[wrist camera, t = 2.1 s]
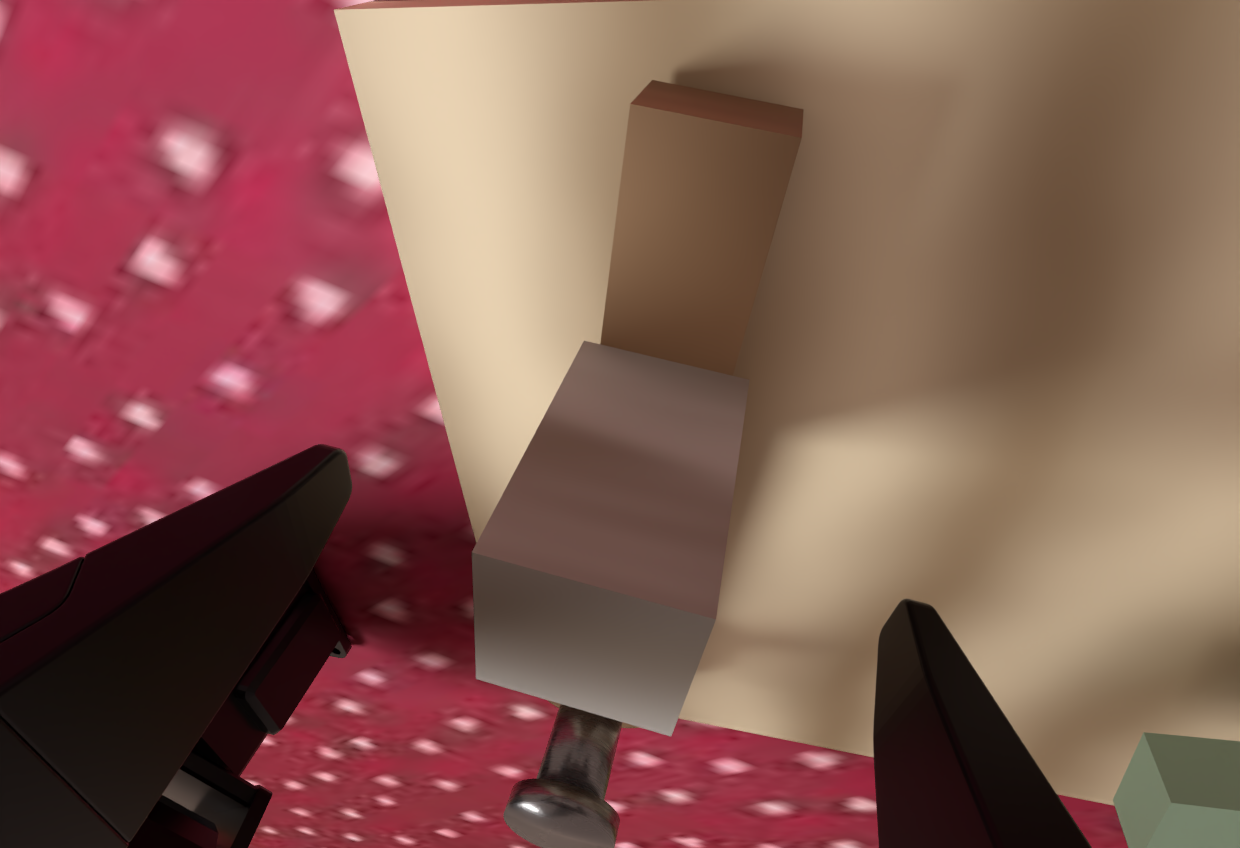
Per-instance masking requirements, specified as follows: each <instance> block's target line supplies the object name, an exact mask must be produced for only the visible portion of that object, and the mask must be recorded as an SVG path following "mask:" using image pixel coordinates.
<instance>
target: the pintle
mask: <svg viewBox="0 0 1240 848" xmlns="http://www.w3.org/2000/svg"><path fill="white" fill-rule="evenodd" d="M621 727H622V722H620V721H617V720H613V719H610V718H607V717H603V716H600V715H597V714H593V713H590V712H586V711H583V710H580V709H576V708H573V707H569V706H566V705H563V704H560V707H559V710H558V713H557V716H556V719H555V723H554V726H553V729H552V732H551V735H550V738H549V741H548V744H547V748H546V751H545V754H544V757H543V760H542V763H541V766H540V769H539V773H538V776H537V779H527V780H522V781H520V782H518V783H516V784H515V785H514V786H513V789H512V791H511V794H510V797H509V800H508V803H507V806H506V809H505V812H504V820H505V822H506V824H507V825H508V826H509V827H510V828H511V829H512V830H513V831H514V832H515V833H516V834H518V835H519V836H521V837H522V838H524V839H525V840H527V841H529V842H531V843H533V844H535V845H537V846H539V847H542V848H614V847H615V842H616V837H617V833H618V828H619V823H620V819H619V816H618V814H617V812H616V811H615V810H614V809H613V808H612V807H611V806H610V805H609V804H608V803H607V802H605V801H604V798H605V794H606V790H607V786H608V781H609V777H610V773H611V769H612V765H613V760H614V756H615V752H616V748H617V743H618V739H619V735H620V731H621Z"/></svg>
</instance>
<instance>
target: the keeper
mask: <svg viewBox="0 0 1240 848" xmlns="http://www.w3.org/2000/svg"><path fill="white" fill-rule="evenodd" d="M1113 802H1114V805H1115V808H1116V811H1117V814H1118V817H1119V820H1120V823H1121V826H1122V829H1123V832H1124V836H1125V839H1126V842H1127V845H1128V848H1240V741H1231V740H1221V739H1210V738H1200V737H1189V736H1178V735H1168V734H1157V733H1147V732H1143V735H1142V737H1141V739H1140V741H1139V743H1138V745H1137V748H1136V750H1135V752H1134V754H1133V756H1132V759H1131V761H1130V763H1129V765H1128V767H1127V770H1126V772H1125V774H1124V776H1123V778H1122V781H1121V783H1120V785H1119V787H1118V789H1117V792H1116V794H1115V796H1114V798H1113Z"/></svg>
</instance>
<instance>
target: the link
mask: <svg viewBox="0 0 1240 848" xmlns="http://www.w3.org/2000/svg"><path fill="white" fill-rule="evenodd" d="M803 111H804V109H799V108H794V107H789V106H784V105H779V104H774V103H769V102H763V101H758V100H753V99H748V98H743V97H738V96H733V95H727V94H722V93H717V92H712V91H707V90H702V89H697V88H692V87H686V86H681V85H676V84H671V83H666V82H661V81H656V80H652V81H651V82H650V83H649V84H648V85H647V86H646V87H645V88H644V89H643V90H642V91H641V93H640V94H639V95H638V96H637V97H636V98H635V99H634V100H633V101H632V102H631V103H630V110H629V118H628V126H627V134H626V142H625V150H624V158H623V166H622V174H621V182H620V190H619V198H618V206H617V214H616V222H615V230H614V238H613V246H612V254H611V262H610V270H609V278H608V286H607V294H606V302H605V310H604V318H603V326H602V334H601V342H600V344H597V343H592V342H588V341H583V343H582V345H581V347H580V349H579V351H578V353H577V355H576V357H575V358H574V360H573V362H572V364H571V366H570V368H569V370H568V372H567V374H566V375H565V377H564V379H563V381H562V383H561V385H560V387H559V389H558V391H557V392H556V394H555V396H554V398H553V400H552V402H551V404H550V406H549V408H548V409H547V411H546V413H545V415H544V417H543V419H542V421H541V423H540V425H539V426H538V428H537V430H536V432H535V434H534V436H533V438H532V440H531V441H530V443H529V445H528V447H527V449H526V451H525V453H524V455H523V457H522V458H521V460H520V462H519V464H518V466H517V468H516V470H515V472H514V474H513V475H512V477H511V479H510V481H509V483H508V485H507V487H506V489H505V491H504V492H503V494H502V496H501V498H500V500H499V502H498V504H497V506H496V508H495V509H494V511H493V513H492V515H491V517H490V519H489V521H488V523H487V525H486V526H485V528H484V530H483V532H482V534H481V536H480V538H479V540H478V542H477V543H476V545H475V547H474V549H473V551H472V573H473V603H474V633H475V662H476V679H478V680H481V681H485V682H488V683H492V684H495V685H498V686H502V687H505V688H508V689H512V690H515V691H519V692H522V693H525V694H529V695H532V696H536V697H539V698H542V699H546V700H548V701H549V702H550V703H552V704H553V705H555V706H556V707H558V708H559V707H560V704H563V705H566V706H569V707H573V708H576V709H580V710H583V711H586V712H590V713H593V714H597V715H600V716H603V717H607V718H610V719H613V720H617V721H620V722H622V727H621V728H638V727H641V728H644V729H647V730H651V731H654V732H658V733H661V734H664V735H668V736H671V735H672V733H673V730H674V728H675V725H676V722H677V720H678V717H679V715H680V712H681V709H682V707H683V704H684V702H685V699H686V696H687V694H688V691H689V688H690V686H691V683H692V681H693V678H694V675H695V673H696V670H697V668H698V665H699V662H700V660H701V657H702V655H703V652H704V649H705V647H706V644H707V642H708V639H709V636H710V634H711V631H712V629H713V626H714V623H715V621H716V616H717V609H718V601H719V594H720V587H721V580H722V573H723V566H724V559H725V552H726V545H727V537H728V530H729V523H730V516H731V509H732V502H733V495H734V488H735V480H736V473H737V466H738V459H739V452H740V445H741V438H742V431H743V424H744V416H745V409H746V402H747V395H748V388H749V381H750V380H748V379H744V378H740V377H736V376H733V373H734V370H735V366H736V363H737V359H738V356H739V352H740V349H741V345H742V342H743V339H744V335H745V332H746V328H747V325H748V321H749V318H750V314H751V311H752V308H753V304H754V301H755V297H756V294H757V290H758V287H759V284H760V280H761V277H762V273H763V270H764V266H765V263H766V259H767V256H768V253H769V249H770V246H771V242H772V239H773V235H774V232H775V228H776V225H777V222H778V218H779V215H780V211H781V208H782V204H783V201H784V197H785V194H786V191H787V187H788V184H789V180H790V177H791V173H792V170H793V166H794V163H795V160H796V156H797V153H798V149H799V146H800V142H801V139H802V127H803Z"/></svg>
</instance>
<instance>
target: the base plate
mask: <svg viewBox="0 0 1240 848" xmlns="http://www.w3.org/2000/svg"><path fill="white" fill-rule="evenodd" d="M334 12H335V16H336V20H337V23H338V27H339V31H340V35H341V38H342V42H343V46H344V50H345V53H346V57H347V61H348V65H349V68H350V72H351V76H352V80H353V83H354V87H355V91H356V95H357V98H358V102H359V106H360V110H361V113H362V117H363V121H364V125H365V128H366V132H367V136H368V139H369V143H370V147H371V151H372V154H373V158H374V162H375V166H376V169H377V173H378V177H379V181H380V184H381V188H382V192H383V196H384V199H385V203H386V207H387V211H388V214H389V218H390V222H391V226H392V229H393V233H394V237H395V241H396V244H397V248H398V252H399V256H400V259H401V263H402V267H403V271H404V274H405V278H406V282H407V286H408V289H409V293H410V297H411V301H412V304H413V308H414V312H415V315H416V319H417V323H418V327H419V330H420V334H421V338H422V342H423V345H424V349H425V353H426V357H427V360H428V364H429V368H430V372H431V375H432V379H433V383H434V387H435V390H436V394H437V398H438V402H439V405H440V409H441V413H442V417H443V420H444V424H445V428H446V432H447V435H448V439H449V443H450V447H451V450H452V454H453V458H454V462H455V465H456V469H457V473H458V476H459V480H460V484H461V488H462V491H463V495H464V499H465V503H466V506H467V510H468V514H469V518H470V521H471V525H472V529H473V533H474V536H475V540H476V543H477V542H478V540H479V538H480V536H481V534H482V532H483V530H484V528H485V526H486V525H487V523H488V521H489V519H490V517H491V515H492V513H493V511H494V509H495V508H496V506H497V504H498V502H499V500H500V498H501V496H502V494H503V492H504V491H505V489H506V487H507V485H508V483H509V481H510V479H511V477H512V475H513V474H514V472H515V470H516V468H517V466H518V464H519V462H520V460H521V458H522V457H523V455H524V453H525V451H526V449H527V447H528V445H529V443H530V441H531V440H532V438H533V436H534V434H535V432H536V430H537V428H538V426H539V425H540V423H541V421H542V419H543V417H544V415H545V413H546V411H547V409H548V408H549V406H550V404H551V402H552V400H553V398H554V396H555V394H556V392H557V391H558V389H559V387H560V385H561V383H562V381H563V379H564V377H565V375H566V374H567V372H568V370H569V368H570V366H571V364H572V362H573V360H574V358H575V357H576V355H577V353H578V351H579V349H580V347H581V345H582V343H583V341H588V342H592V343H597V344H600V342H601V334H602V326H603V318H604V310H605V302H606V294H607V286H608V278H609V270H610V262H611V254H612V246H613V238H614V230H615V222H616V214H617V206H618V198H619V190H620V182H621V174H622V166H623V158H624V150H625V142H626V134H627V126H628V118H629V110H630V103H631V102H632V101H633V100H634V99H635V98H636V97H637V96H638V95H639V94H640V93H641V91H642V90H643V89H644V88H645V87H646V86H647V85H648V84H649V83H650V82H651V81H652V80H656V81H661V82H666V83H671V84H676V85H681V86H686V87H692V88H697V89H702V90H707V91H712V92H717V93H722V94H727V95H733V96H738V97H743V98H748V99H753V100H758V101H763V102H769V103H774V104H779V105H784V106H789V107H794V108H799V109H804V111H803V127H802V139H801V142H800V146H799V149H798V153H797V156H796V160H795V163H794V166H793V170H792V173H791V177H790V180H789V184H788V187H787V191H786V194H785V197H784V201H783V204H782V208H781V211H780V215H779V218H778V222H777V225H776V228H775V232H774V235H773V239H772V242H771V246H770V249H769V253H768V256H767V259H766V263H765V266H764V270H763V273H762V277H761V280H760V284H759V287H758V290H757V294H756V297H755V301H754V304H753V308H752V311H751V314H750V318H749V321H748V325H747V328H746V332H745V335H744V339H743V342H742V345H741V349H740V352H739V356H738V359H737V363H736V366H735V370H734V373H733V376H736V377H740V378H744V379H748V380H750V381H749V388H748V395H747V402H746V409H745V416H744V424H743V431H742V438H741V445H740V452H739V459H738V466H737V473H736V480H735V488H734V495H733V502H732V509H731V516H730V523H729V530H728V537H727V545H726V552H725V559H724V566H723V573H722V580H721V587H720V594H719V601H718V609H717V616H716V621H715V623H714V626H713V629H712V631H711V634H710V636H709V639H708V642H707V644H706V647H705V649H704V652H703V655H702V657H701V660H700V662H699V665H698V668H697V670H696V673H695V675H694V678H693V681H692V683H691V686H690V688H689V691H688V694H687V696H686V699H685V702H684V704H683V707H682V709H681V712H680V715H679V717H678V718H680V719H685V720H690V721H695V722H700V723H705V724H710V725H715V726H720V727H725V728H730V729H734V730H739V731H744V732H749V733H754V734H759V735H764V736H769V737H774V738H779V739H784V740H789V741H794V742H799V743H804V744H809V745H814V746H819V747H824V748H829V749H834V750H839V751H844V752H849V753H854V754H859V755H864V756H869V757H874V753H873V725H874V706H875V689H876V672H877V655H878V640H879V635H880V632H881V629H882V627H883V626H884V624H885V623H886V621H887V620H888V618H889V617H890V615H891V614H892V612H893V611H894V609H895V608H896V606H897V605H898V604H899V602H900V601H901V600H903V599H905V598H907V599H912V600H916V601H920V602H923V603H927V604H930V605H931V606H933V607H934V608H935V609H936V611H937V612H938V614H939V615H940V617H941V618H942V620H943V621H944V623H945V624H946V626H947V628H948V629H949V631H950V632H951V634H952V635H953V637H954V638H955V640H956V641H957V643H958V644H959V646H960V647H961V649H962V650H963V652H964V653H965V655H966V656H967V658H968V660H969V661H970V663H971V664H972V666H973V667H974V669H975V670H976V672H977V673H978V675H979V676H980V678H981V679H982V681H983V682H984V684H985V685H986V687H987V689H988V690H989V692H990V693H991V695H992V696H993V698H994V699H995V701H996V702H997V704H998V705H999V707H1000V708H1001V710H1002V711H1003V713H1004V714H1005V716H1006V717H1007V719H1008V721H1009V722H1010V724H1011V725H1012V727H1013V728H1014V730H1015V731H1016V733H1017V734H1018V736H1019V737H1020V739H1021V740H1022V742H1023V743H1024V745H1025V746H1026V748H1027V750H1028V751H1029V753H1030V754H1031V756H1032V757H1033V759H1034V760H1035V762H1036V763H1037V765H1038V766H1039V768H1040V769H1041V771H1042V772H1043V774H1044V775H1045V777H1046V778H1047V780H1048V782H1049V783H1050V785H1051V786H1052V788H1053V789H1054V791H1055V792H1056V794H1059V795H1064V796H1069V797H1074V798H1079V799H1084V800H1089V801H1094V802H1099V803H1104V804H1109V805H1114V802H1113V798H1114V796H1115V794H1116V792H1117V789H1118V787H1119V785H1120V783H1121V781H1122V778H1123V776H1124V774H1125V772H1126V770H1127V767H1128V765H1129V763H1130V761H1131V759H1132V756H1133V754H1134V752H1135V750H1136V748H1137V745H1138V743H1139V741H1140V739H1141V737H1142V735H1143V732H1147V733H1157V734H1168V735H1178V736H1189V737H1200V738H1210V739H1221V740H1231V741H1240V0H402V1H371V2H366V3H362V4H357V5H353V6H349V7H344V8H340V9H335V10H334ZM1114 806H1115V805H1114Z"/></svg>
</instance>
